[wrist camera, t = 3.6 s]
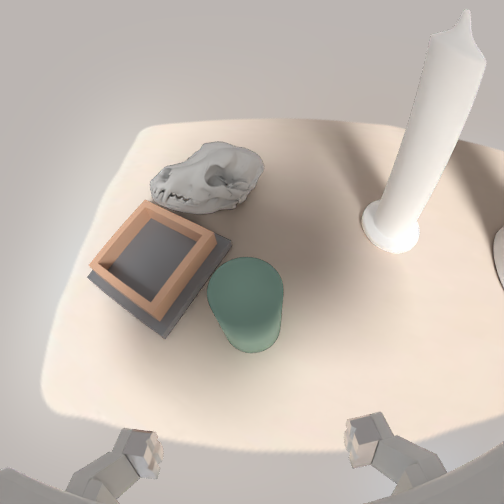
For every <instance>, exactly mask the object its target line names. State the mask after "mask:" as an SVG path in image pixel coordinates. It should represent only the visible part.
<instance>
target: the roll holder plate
mask: <svg viewBox="0 0 504 504" xmlns="http://www.w3.org/2000/svg"><path fill="white" fill-rule="evenodd" d="M231 247H232V243H231V240H229V239H227V238H225V237H223V236H220V235H218V234H216V233H214V232H212V231H210V230H208V229H206V228H204V227H202V226H200V225H197V224H195V223H193V222H191V221H189V220H187V219H185V218H183V217H181V216H179V215H176V214H174V213H172V212H170V211H168V210H166V209H164V208H162V207H160V206H158V205H155V204H153V203H151V202H149V201H147V200H144V201H143V203H142V204H141V205H140V206H139V207H138V208H137V209H136V210H135V211H134V212H133V213H132V215H131V216H130V217H129V218H128V219H127V220H126V221H125V222H124V224H123V225H122V226H121V227H120V228H119V229H118V230H117V232H116V233H115V234H114V235H113V236H112V237H111V239H110V240H109V241H108V242H107V243H106V245H105V246H104V247H103V248H102V249H101V251H100V252H99V253H98V254H97V256H96V257H95V258H94V259H93V261H92V262H91V263H90V264H89V266H90V267H91V268H92V269H93V270H92V272H91V273H90V274H89V275H88V277H87V278H88V279H89V280H90V281H92V282H93V283H94V284H95V285H96V286H97V287H99V288H100V289H101V290H102V291H103V292H105V293H106V294H107V295H108V296H109V297H111V298H112V299H113V300H114V301H116V302H117V303H118V304H119V305H121V306H122V307H123V308H124V309H126V310H127V311H128V312H129V313H131V314H132V315H133V316H135V317H136V318H137V319H139V320H140V321H141V322H143V323H144V324H145V325H147V326H148V327H149V328H151V329H152V330H153V331H155V332H156V333H158V334H159V335H160V336H162V337H163V338H165V339H166V338H167V336H168V335H169V333H170V332H171V330H172V329H173V328H174V326H175V325H176V323H177V322H178V320H179V319H180V318H181V316H182V315H183V313H184V312H185V311H186V309H187V308H188V306H189V305H190V304H191V302H192V301H193V299H194V298H195V297H196V295H197V294H198V292H199V291H200V290H201V288H202V287H203V285H204V284H205V283H206V281H207V280H208V278H209V277H210V276H211V274H212V273H213V271H214V270H215V269H216V267H217V266H218V265H219V263H220V262H221V260H222V259H223V258H224V256H225V255H226V254H227V252H228V251H229V249H230V248H231Z"/></svg>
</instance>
